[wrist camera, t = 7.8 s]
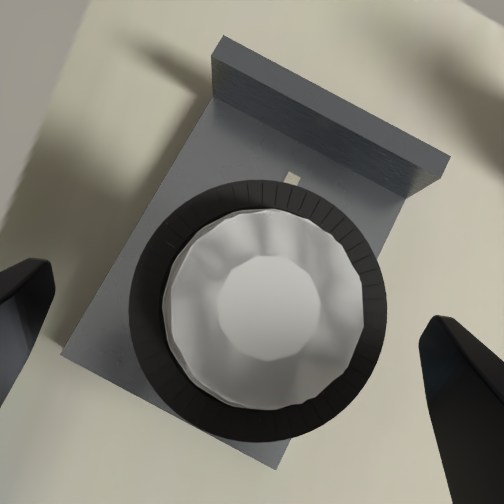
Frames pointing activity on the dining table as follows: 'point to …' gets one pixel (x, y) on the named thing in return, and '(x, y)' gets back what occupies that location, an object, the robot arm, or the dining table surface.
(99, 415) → the dining table surface
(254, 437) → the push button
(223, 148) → the housing plate
